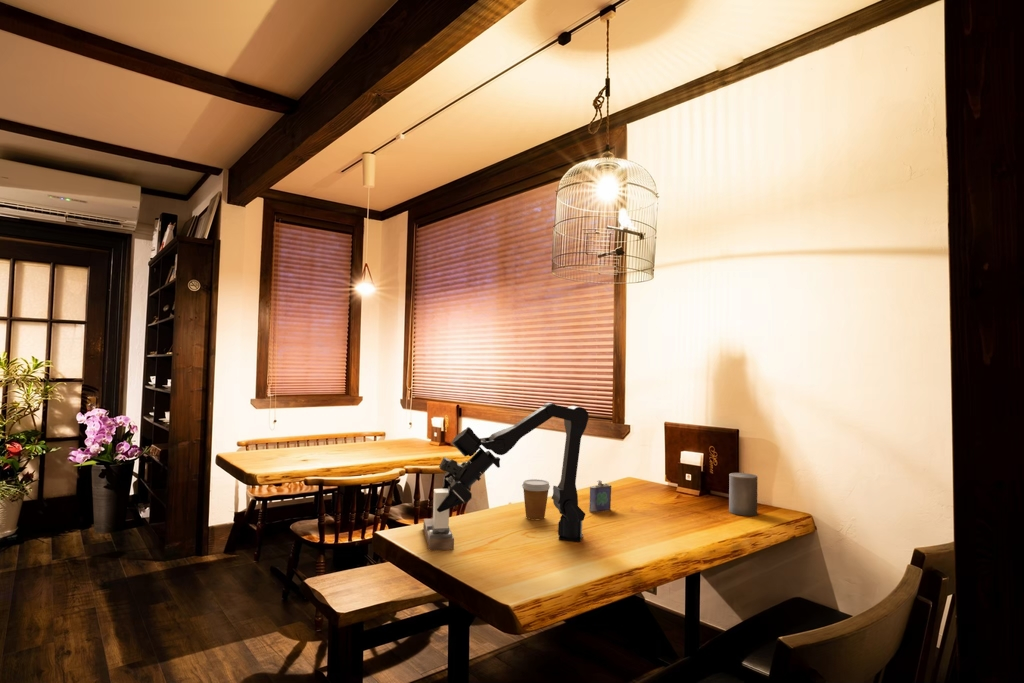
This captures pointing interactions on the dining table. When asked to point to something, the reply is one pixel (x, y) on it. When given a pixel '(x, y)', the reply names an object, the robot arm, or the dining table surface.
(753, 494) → the pillar candle
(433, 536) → the dock
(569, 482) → the robot arm
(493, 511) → the dining table surface
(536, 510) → the disposable coffee cup
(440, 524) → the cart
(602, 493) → the flask
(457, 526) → the dining table surface
